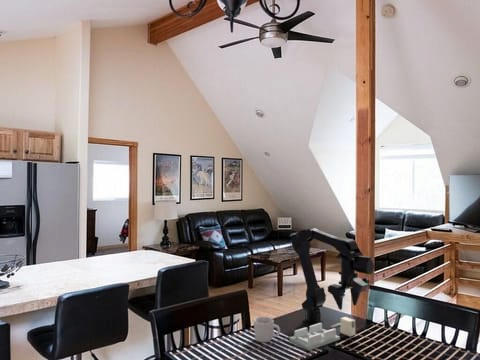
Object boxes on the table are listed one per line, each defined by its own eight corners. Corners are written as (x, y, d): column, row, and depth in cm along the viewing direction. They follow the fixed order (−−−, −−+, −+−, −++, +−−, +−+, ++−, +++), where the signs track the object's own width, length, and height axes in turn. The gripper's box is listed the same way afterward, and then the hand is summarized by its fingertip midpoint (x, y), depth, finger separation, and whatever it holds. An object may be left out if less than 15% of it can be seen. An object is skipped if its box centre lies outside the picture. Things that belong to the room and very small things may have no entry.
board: (289, 340, 152) (289, 329, 152) (319, 330, 162) (319, 320, 162) (309, 350, 143) (309, 339, 143) (339, 339, 153) (339, 328, 153)
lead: (332, 328, 165) (332, 326, 165) (330, 327, 166) (330, 325, 166) (345, 324, 170) (345, 321, 170) (343, 323, 171) (343, 321, 171)
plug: (340, 332, 160) (340, 318, 160) (345, 330, 162) (345, 316, 162) (351, 337, 156) (351, 322, 156) (356, 335, 158) (356, 320, 158)
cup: (283, 339, 153) (283, 319, 153) (276, 347, 146) (276, 326, 146) (258, 334, 158) (258, 315, 158) (250, 342, 151) (250, 321, 151)
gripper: (349, 277, 147) (349, 317, 147) (378, 270, 158) (378, 308, 158) (327, 271, 156) (326, 309, 156) (356, 265, 167) (355, 301, 167)
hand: (347, 307), depth 159 cm, fingers open, 9 cm apart
